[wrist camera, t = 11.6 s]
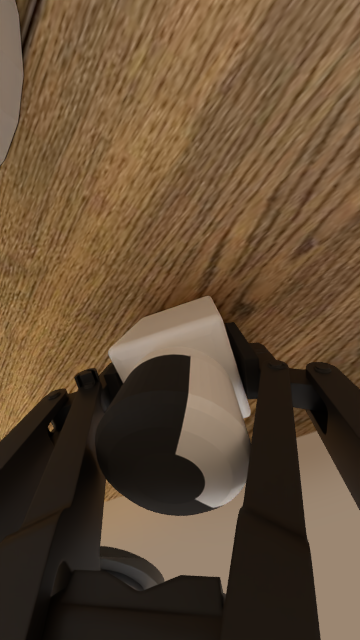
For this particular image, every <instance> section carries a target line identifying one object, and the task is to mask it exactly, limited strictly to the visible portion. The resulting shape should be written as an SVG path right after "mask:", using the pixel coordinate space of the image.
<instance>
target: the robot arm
mask: <svg viewBox="0 0 360 640" xmlns="http://www.w3.org/2000/svg"><path fill="white" fill-rule="evenodd" d="M225 324H226V333H227V336H228V339H229V342H230V346H231V349H232V352H233V355H234V359H235V362H236V365H237V368H238V371H239V375H240V378H241V381H242V384H243V388H244V391H245V393H246V396H247V398H248V399H257V405H256V412H255V420H254V427H253V435H252V442H251V450H250V458H249V465H248V473H247V480H246V488H245V496H244V502H243V506H242V508H240V511H239V514H238V520H237V525H236V532H235V538H234V545H233V552H232V559H231V565H230V572H229V579H228V586H227V593H226V594H224V593H223V590H222V585H221V580H220V577H206V576H186V575H180V576H178V577H175V578H173V579H170V580H168V581H165V582H163V583H160V584H158V585H155V586H153V587H150V588H148V589H145V590H144V589H143V587H142V586H141V585H140V584H139V583H138V582H136V581H135V580H133V579H132V578H130V577H128V576H126V575H124V574H121V573H118V572H115V571H111V570H104V569H100V558H99V554H100V541H101V529H102V517H103V507H104V496H105V484H106V478H105V476H104V475H103V473H102V471H101V469H100V467H99V464H98V461H97V455H96V448H95V434H96V430H97V427H98V424H99V422H100V420H101V418H102V417H103V415H104V414H105V412H106V410H107V409H108V407H109V406H110V404H111V402H112V401H113V399H114V398H115V396H116V394H117V393H118V391H119V390H120V388H121V386H122V385H123V382H122V380H121V378H120V376H119V374H118V372H117V370H116V368H115V366H114V364H113V363H110V364H109V365H108V366H107V367H106V368H105V369H104V371H103V372H102V373H101V374H100V375H99V376H98V373H97V370H96V369H95V368H91V369H87V370H84V371H82V372H80V373H78V374H77V375H76V376H75V377H74V378H75V381H76V383H77V386H78V388H79V389H78V391H77V392H74V393H71V394H68V393H67V391H66V389H58V390H55V391H52V392H51V393H49V394H48V395H46V396H45V397H44V398H43V399H42V400H41V401H40V402H39V403H38V404H37V405H36V406H35V407H34V408H33V409H32V410H31V411H30V412H29V413H28V414H27V415H26V416H25V417H24V418H23V419H22V420H21V421H20V422H19V423H18V424H17V425H16V426H15V427H14V428H13V429H12V431H11V432H10V433H9V434H8V435H7V436H6V437H5V438H4V439H3V440H2V441H1V442H0V640H321V639H320V631H319V622H318V614H317V604H316V595H315V586H314V577H313V569H312V561H311V553H310V547H309V542H308V540H307V535H306V528H305V519H304V509H303V500H302V489H301V481H300V470H299V461H298V451H297V442H296V432H295V423H294V413H293V407H295V408H301V409H306V412H307V413H308V415H309V417H310V419H311V421H312V423H313V425H314V426H315V428H316V430H317V432H318V434H319V436H320V437H321V439H322V441H323V443H324V445H325V447H326V449H327V450H328V452H329V454H330V456H331V458H332V460H333V462H334V463H335V465H336V467H337V469H338V471H339V473H340V474H341V476H342V478H343V480H344V482H345V484H346V486H347V488H348V489H349V491H350V492H351V495H352V497H353V498H354V500H355V502H356V504H357V506H358V508H359V510H360V389H359V388H358V387H357V386H356V385H354V384H353V383H352V382H351V381H350V380H349V379H348V378H347V377H346V376H345V375H344V374H343V373H342V372H341V371H340V370H339V369H338V368H336V367H335V366H333V365H330V364H328V363H323V362H312V363H309V364H307V366H306V370H300V369H291V368H289V367H288V365H287V364H286V363H285V362H282V361H279V360H276V359H275V358H274V357H273V356H272V354H271V353H270V352H269V351H268V350H267V349H266V348H265V346H264V345H262V344H260V343H250V344H249V343H248V342H247V340H246V339H245V337H244V336H243V335H242V333H241V332H240V330H239V329H238V327H237V326H236V324H235V323H234V322H231V323H225ZM50 422H51V423H52V425H53V427H54V429H53V430H52V431H51V432H50V431H49V429H48V425H49V423H50Z"/></svg>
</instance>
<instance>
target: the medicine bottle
mask: <svg viewBox="0 0 360 640" xmlns="http://www.w3.org/2000/svg"><path fill="white" fill-rule="evenodd" d="M108 355H109V357H110V359H111V361H112V363H113V364H114V366H115V368H116V370H117V372H118V374H119V376H120V378H121V380H122V382H123V385H122V386H121V388H120V390H119V391H118V393H117V394H116V396H115V398H114V399H113V401H112V402H111V404H110V406H109V407H108V409H107V410H106V412H105V414H104V415H103V417H102V418H101V420H100V422H99V424H98V427H97V430H96V434H95V448H96V455H97V461H98V464H99V467H100V469H101V471H102V473H103V475H104V476H105V478H106V479H107V481H108V482H109V483H110V484H111V485H112V486H113V487H114V488H115V489H116V490H117V491H118V492H119V493H120V494H122V495H123V496H125V497H126V498H128V499H129V500H130V501H132V502H134V503H135V504H137V505H139V506H141V507H143V508H145V509H147V510H150V511H153V512H157V513H161V514H166V515H175V516H187V515H194V514H199V513H203V512H207V511H211V510H214V509H216V508H218V507H220V506H223V505H225V504H226V503H228V502H229V501H231V500H232V499H233V498H234V497H236V496H237V495H238V493H239V492H240V491H241V490H242V488H243V486H244V485H245V483H246V480H247V473H248V465H249V458H250V450H251V442H250V438H249V435H248V432H247V429H246V426H245V423H244V419H243V418H246V417H248V416H250V407H249V404H248V401H247V397H246V394H245V391H244V388H243V384H242V381H241V378H240V375H239V371H238V368H237V365H236V362H235V359H234V355H233V352H232V349H231V346H230V342H229V339H228V336H227V333H226V330H225V326H224V323H223V320H222V317H221V315H220V314H219V312H218V310H217V308H216V306H215V304H214V302H213V300H212V298H211V297H210V296H205V297H202V298H199V299H196V300H193V301H190V302H187V303H184V304H181V305H178V306H176V307H173V308H170V309H167V310H164V311H161V312H158V313H155V314H152V315H149V316H146V317H143V318H142V319H140V320H139V321H138V322H137V323H136V324H135V325H134V326H133V327H132V328H131V329H130V330H129V331H128V332H127V333H125V334H124V335H123V336H122V337H121V338H120V339H119V340H118V341H117V342H116V343H115V344H114V345H113V346H112V347H111V348H110V349H109V351H108Z"/></svg>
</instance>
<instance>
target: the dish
mask: <svg viewBox="0 0 360 640" xmlns="http://www.w3.org/2000/svg"><path fill="white" fill-rule="evenodd" d="M23 75H24V73H23V61H22V49H21V36H20V24H19V14H18V10H17V6H16V2H15V0H0V165H1V163H2V162H3V161H4V160H5V157H6V154H7V152H8V149H9V146H10V143H11V141H12V138H13V135H14V132H15V130H16V127H17V124H18V119H19V110H20V101H21V93H22V84H23Z"/></svg>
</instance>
